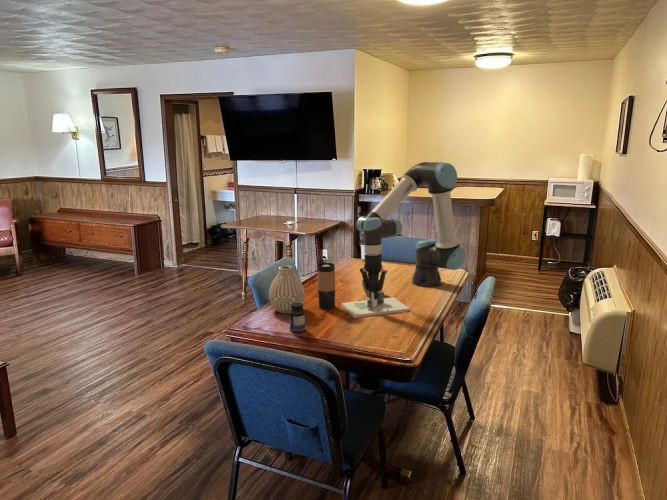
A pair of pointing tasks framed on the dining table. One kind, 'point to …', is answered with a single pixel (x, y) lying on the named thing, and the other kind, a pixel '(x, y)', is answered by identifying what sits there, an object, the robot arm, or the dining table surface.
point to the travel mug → (326, 286)
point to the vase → (285, 290)
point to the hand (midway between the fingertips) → (374, 306)
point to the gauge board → (374, 308)
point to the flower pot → (365, 289)
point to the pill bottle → (297, 318)
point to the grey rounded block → (379, 300)
